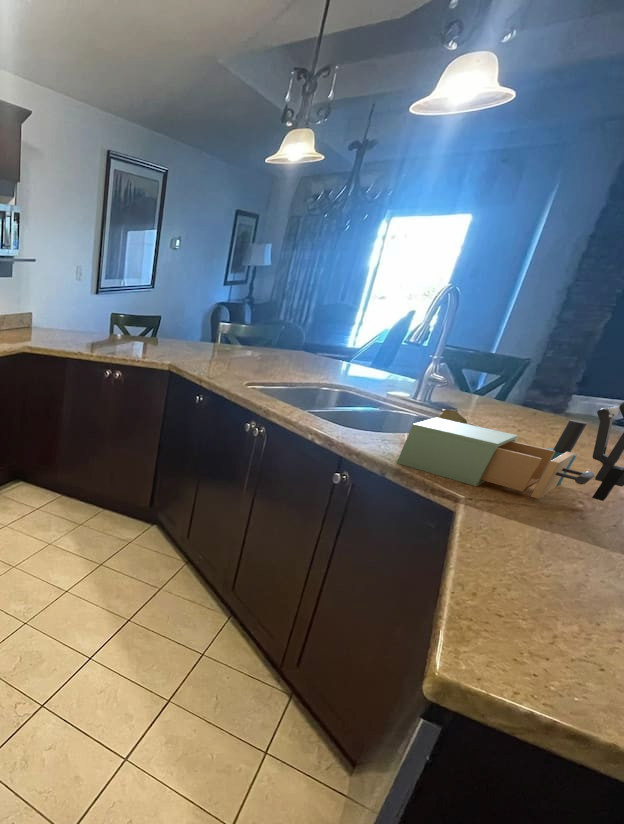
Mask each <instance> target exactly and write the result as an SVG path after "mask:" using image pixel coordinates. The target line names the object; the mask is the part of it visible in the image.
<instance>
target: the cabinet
mask: <svg viewBox="0 0 624 824" xmlns="http://www.w3.org/2000/svg"><path fill="white" fill-rule="evenodd" d="M518 436H519V435H517V434H515V433H509V432H505V431H499V430H496V429H491V428H487V427H483V426H478V425H474V424H473V425H472V424H469V423H467V424H464V423H460V422H455V421H450V420H446V419H441V418H439V417H438V416H437V417H436V416H435V417H432V418H429V419H425V420H423V421H418V422H415V423H412V425H411V427H410V430H409V432H408V435H407V437H406V439H405V442H404V444H403V446H402V448H401V451H400V453H399V455H398V458H397V461H396V464H398V465H402V466H406V467H408V468H412V469H414V470H415V469H416V470H419V471H422V472H426V473H429V474H433V475H436V476H440V477H442V478H446V479H450V480H453V481H457V482H460V483H463V484H467V485H470V486H473V487H478V486H480V485H482V484H484V483H485V482H486V481H484V480H481V478H482V476H483V474H484V472H485V470H486V468H487V466H488V464H489V462H490V460H491V459H492V457H493V455H494V453H495V451H496V449H497V447H499V446H501V445H503V444H506V443H508V442H510V441H514V442H516V440H517V438H518Z"/></svg>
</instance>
